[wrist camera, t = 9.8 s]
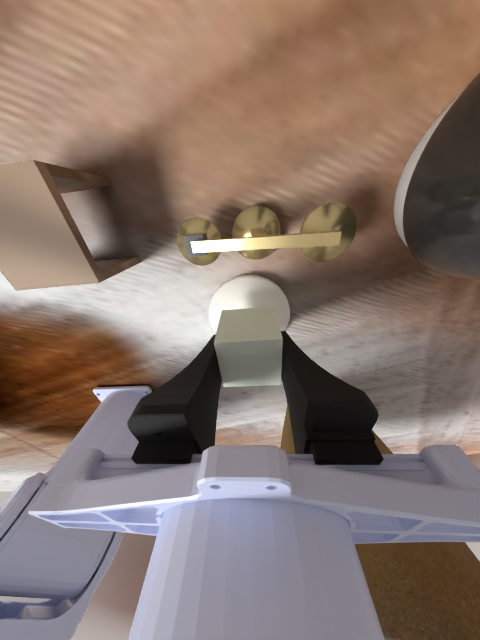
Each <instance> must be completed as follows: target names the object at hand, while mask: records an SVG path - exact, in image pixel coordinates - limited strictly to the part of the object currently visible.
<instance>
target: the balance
mask: <svg viewBox="0 0 480 640" xmlns="http://www.w3.org/2000/svg"><path fill="white" fill-rule="evenodd" d="M355 232H356V218H355V215H354V213H353V212H352V210H351V209H350V208H349V207H348V206H346V205H344V204H341V203H328V204H324V205H321V206H319V207H318V208H316V209H315V210H313V211H312V212H311V213H310V214H309V215H308V217H307V218H306V219H305V221H304V223H303V225H302V227H301V230H300V233H297V234H283V235H281V227H280V223H279V220H278V218H277V216H276V215H275V214H274V212H272V211H271V210H270V209H268V208H266V207H264V206H251V207H248V208H246V209H245V210H243V211H242V212H241V213H240V214H239V215H238V216H237V218H236V219H235V222H234V224H233V228H232V238H227V239H222V238H221V235H220V232H219V230H218V229H217V227H216V226H215V225H214V224H213V223H212V222H211V221H209V220H207V219H205V218H200V217H196V218H191V219H188V220H187V221H185V222H184V223H183V224H182V225H181V227H180V229H179V231H178V236H177V241H178V246H179V249H180V251H181V253H182V254H183V256H184V257H185V258H186V259H187V260H188V261H190V262H191V263H193V264H196V265H208V264H211V263H212V262H214V261H215V260H216V259H217V258H218V256H219V255H220V252H221V251H238V252H239V253H240V254H241V255H243V256H244V257H246V258H249V259H262V258H264V257H267V256H268V255H270V254H271V253H272V252H273V251H274V250H275V248H294V247H301V249H302V251H303V252H304V254H305V255H306V256H308V257H309V258H310V259H312V260H315V261H320V262H324V261H329V260H332V259H334V258H336V257H338V256H339V255H341V254H342V253H343V252H344V251H345V250H346V249H347V248H348V247H349V245H350V244H351V242H352V240H353V238H354V236H355Z"/></svg>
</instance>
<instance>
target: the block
mask: <svg viewBox="0 0 480 640" xmlns="http://www.w3.org/2000/svg"><path fill="white" fill-rule="evenodd" d="M214 346H215V351H216V355H217V360H218V364H219V369H220V373H221V378H222V382H223V387H241V386H271V385H281V372H282V347H283V338H282V334H281V331H280V327H279V324H278V320H277V316H276V313H275V309H274V307H260V308H246V309H231V310H222V312H221V316H220V320H219V324H218V328H217V332H216V336H215V340H214Z"/></svg>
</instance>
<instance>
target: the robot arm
mask: <svg viewBox="0 0 480 640" xmlns="http://www.w3.org/2000/svg"><path fill="white" fill-rule="evenodd" d="M281 334H282V338H283V347H282V372H281V378H282V382H283V385H284V389H285V393H286V398H287V404H288V409H289V415H290V422H291V428H292V435H293V441H294V448H295V454H286V452H285V451H284V450H283V449H281V448H279V447H276V446H269V445H218V446H215V432H216V420H217V409H218V399H219V393H220V388H221V383H222V378H221V373H220V369H219V364H218V360H217V355H216V351H215V346H214V340H215V336H216V335H213V337H212V338H211V339H210V341H209V342H208V343H207V345H206V346H205V347H204V348H203V350H202V351H201V352H200V353H199V354H198V356H197V357H196V358H195V359H194V360H193V361H192V362H191V363H190V364H189V365H188V366H187V367H186V368H185V369H184V370H182V371H181V372H180V373H179V374H177V375H176V376H175V377H174V378H172V379H171V380H170V381H168V382H167V383H165V384H164V385H162V386H161V387H159V388H158V389H156V390H154V391H153V392H152V390H151V389H150V387H149V386H123V387H96V388H94V389H93V392H94V394H95V395H96V396H97V397H98V398H99V400H100V401H101V402H102V403H101V404H100V405H99V407H98V408H97V409H96V411H95V412H94V413H93V415H92V416H91V417H90V419H89V420H88V421H87V422H86V424H85V425H84V426H83V428H82V429H81V430H80V432H79V433H78V434H77V436H76V437H75V438H74V440H73V441H72V442H71V444H70V445H69V446H68V448H67V449H66V450H65V452H64V453H63V454H62V456H61V457H60V458H59V460H58V461H57V462H56V463H55V465H54V466H53V467H52V469H51V470H50V471H48V472H47V473H46V474H43V473H37V474H36V475H35V476H32V477H30V478H27V479H26V480H25V481H23V482H22V484H21V485H20V486H19V487H18V488H17V489H16V490H15V491H14V492H13V493H12V495H11V496H10V497H9V498H8V499H7V500H6V502H5V503H4V504H3V505H2V506H1V507H0V596H14V597H31V598H48V599H49V600H47V601H43V602H39V603H36V602H35V603H34V602H15V601H0V640H70V639H71V638H72V636H73V635H74V633H75V631H76V628H77V626H78V624H79V623H80V621H81V620H82V618H83V615H84V613H85V611H86V609H87V607H88V605H89V603H90V601H91V598H92V596H93V595H94V592H95V591H96V589H97V587H98V585H99V583H100V581H101V580H102V578H103V577H104V575H105V574H106V572H107V570H108V568H109V567H110V565H111V563H112V561H113V559H114V557H115V555H116V552H117V550H118V548H119V546H120V543H121V540H122V537H123V535H124V532H127V533H137V534H146V535H155V536H157V538H156V541H155V545H154V549H153V552H152V556H151V559H150V563H149V566H148V570H147V574H146V577H145V581H144V584H143V588H142V592H141V595H140V599H139V602H138V606H137V610H136V613H135V617H134V620H133V624H132V628H131V631H130V635H129V638H128V640H385V639H384V635H383V632H382V629H381V626H380V623H379V620H378V617H377V613H376V610H375V607H374V604H373V601H372V598H371V595H370V592H369V588H368V585H367V582H366V579H365V576H364V573H363V570H362V566H361V563H360V560H359V557H358V554H357V551H356V548H355V545H354V544H365V543H402V542H480V470H479V469H478V467H477V466H476V465H475V464H474V463H473V462H472V461H471V460H470V459H469V458H468V456H467V455H466V454H465V453H464V452H463V451H462V449H461V448H460V447H459V446H456V445H433V446H427V447H425V448H423V449H422V450H421V451H420V454H381V453H380V451H379V449H378V447H377V445H376V444H375V442H374V441H375V440H376V438H375V436H374V434H373V432H372V428H373V426H374V425H375V423H376V421H377V419H378V411H377V409H376V408H375V406H374V405H373V403H372V402H371V400H370V399H369V398H368V396H367V395H366V394H365V392H363V391H361V390H359V389H357V388H355V387H353V386H351V385H349V384H347V383H345V382H343V381H342V380H340V379H338V378H337V377H335V376H333V375H332V374H330V373H329V372H327V371H326V370H324V369H323V368H321V367H320V366H319V365H317V364H316V363H315V362H314V361H312V360H311V359H310V358H309V357H308V356H307V355H306V354H305V353H304V352H303V351H302V350H301V349H300V348H299V347H298V346H297V345H296V344H295V343H294V341H293V340H292V339H291V338H290V337H289V335H288V334H287V333H286V332H285V331H281Z"/></svg>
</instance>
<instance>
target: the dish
mask: <svg viewBox="0 0 480 640" xmlns="http://www.w3.org/2000/svg"><path fill="white" fill-rule="evenodd" d="M260 307H274V309H275V313H276V316H277V320H278V324H279V327H280V331H285V330H286V328H287V326H288V323H289V320H290V307H289V303H288V300H287V298H286V296H285V294H284V292H283V291H282V289H281V288H280V287H279V286H278V285H277V284H276V283H274V282H273V281H271V280H270V279H268V278H265V277H263V276H259V275H240V276H237V277H234V278H232V279H229V280H228V281H226V282H225V283H223V284H222V285H221V286H220V287H219V288H218V289H217V291H216V292H215V294H214V296H213V298H212V301H211V304H210V307H209V321H210V324H211V326H212V329H213V330H214V332H215V333H216V332H217V328H218V324H219V320H220V316H221V312H222V310H231V309H246V308H260Z"/></svg>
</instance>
